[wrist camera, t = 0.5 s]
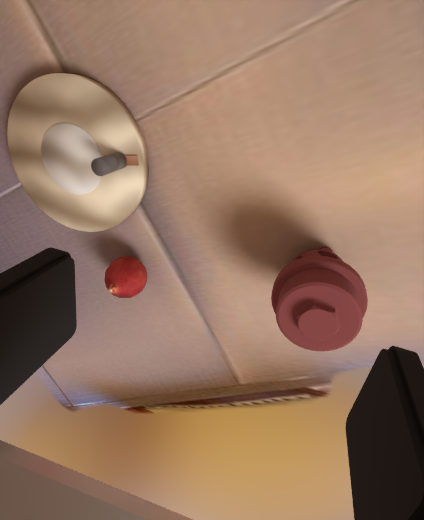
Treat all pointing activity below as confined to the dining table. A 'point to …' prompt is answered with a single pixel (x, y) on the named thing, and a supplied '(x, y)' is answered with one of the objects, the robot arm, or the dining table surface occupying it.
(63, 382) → the dining table surface
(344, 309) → the mechanical component
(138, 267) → the onion
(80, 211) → the turntable
